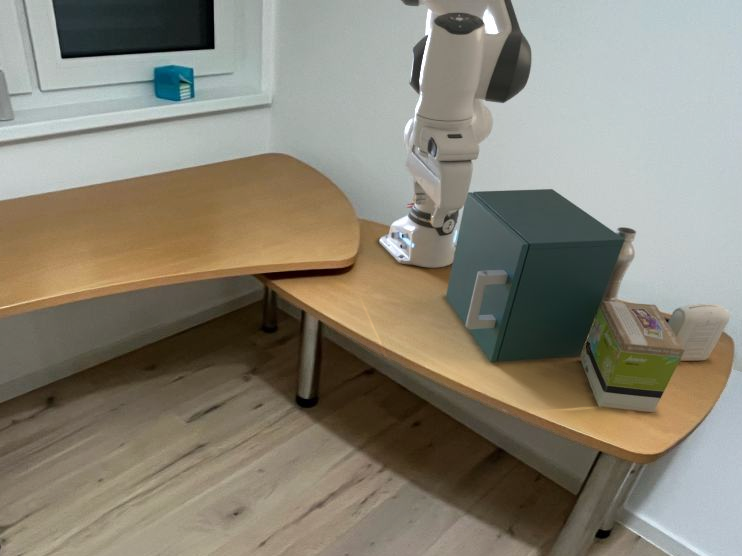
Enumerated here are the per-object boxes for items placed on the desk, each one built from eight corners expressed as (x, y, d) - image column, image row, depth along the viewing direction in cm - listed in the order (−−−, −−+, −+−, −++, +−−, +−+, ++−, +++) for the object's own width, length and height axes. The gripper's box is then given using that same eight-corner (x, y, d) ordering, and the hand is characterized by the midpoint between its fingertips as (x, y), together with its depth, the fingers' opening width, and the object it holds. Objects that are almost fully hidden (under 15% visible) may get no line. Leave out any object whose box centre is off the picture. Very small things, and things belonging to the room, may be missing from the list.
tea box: (577, 360, 116) (601, 297, 108) (629, 365, 115) (657, 303, 106) (596, 407, 104) (625, 341, 96) (655, 414, 103) (689, 348, 94)
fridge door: (464, 363, 115) (492, 245, 100) (423, 298, 136) (442, 193, 121) (496, 361, 115) (529, 244, 100) (450, 297, 137) (472, 192, 122)
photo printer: (697, 349, 120) (723, 299, 113) (710, 361, 116) (739, 310, 109) (650, 350, 119) (673, 300, 112) (662, 362, 116) (687, 311, 109)
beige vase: (615, 319, 130) (648, 238, 118) (584, 315, 131) (614, 235, 119) (608, 304, 135) (639, 226, 123) (578, 301, 136) (606, 223, 124)
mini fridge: (497, 362, 116) (530, 243, 100) (451, 297, 137) (473, 191, 122) (580, 357, 117) (625, 239, 102) (522, 293, 139) (552, 188, 124)
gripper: (402, 115, 98) (393, 192, 106) (442, 153, 82) (428, 240, 90) (438, 114, 99) (425, 190, 107) (484, 152, 82) (466, 238, 91)
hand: (427, 214), depth 98 cm, fingers open, 8 cm apart
